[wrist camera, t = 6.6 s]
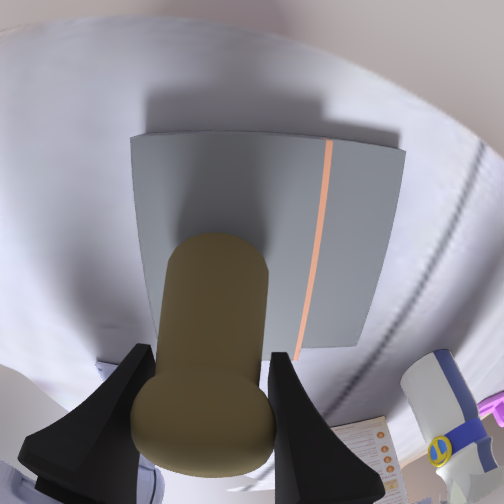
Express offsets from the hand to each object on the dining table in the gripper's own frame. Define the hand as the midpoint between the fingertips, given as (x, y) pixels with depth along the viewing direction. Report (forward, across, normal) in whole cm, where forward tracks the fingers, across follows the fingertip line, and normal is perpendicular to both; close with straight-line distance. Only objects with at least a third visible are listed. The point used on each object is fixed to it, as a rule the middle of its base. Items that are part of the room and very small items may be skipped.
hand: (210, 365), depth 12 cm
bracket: (+11, -53, +34) cm, 64 cm away
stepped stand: (+10, -3, 0) cm, 11 cm away
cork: (+6, 0, 0) cm, 6 cm away
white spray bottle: (+11, -24, +16) cm, 31 cm away
